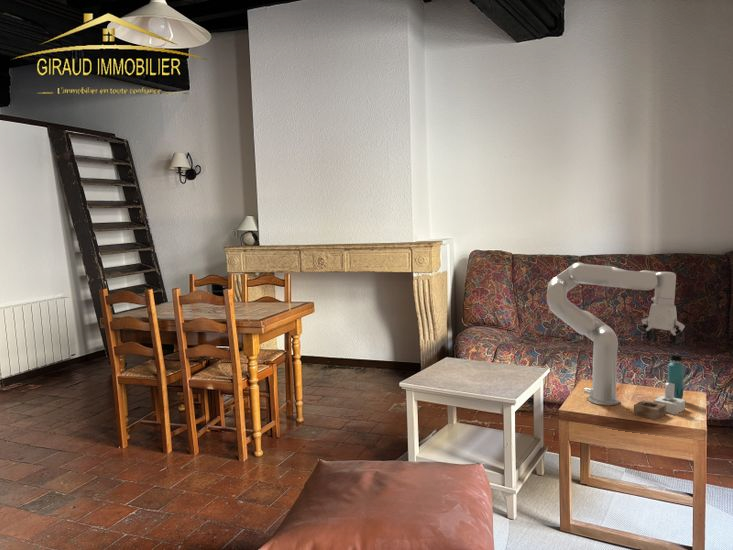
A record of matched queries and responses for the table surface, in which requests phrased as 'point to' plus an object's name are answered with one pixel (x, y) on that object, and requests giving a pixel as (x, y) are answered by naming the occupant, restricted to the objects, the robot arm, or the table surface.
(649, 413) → the socket block
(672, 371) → the beverage bottle
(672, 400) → the steel peg
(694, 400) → the table surface
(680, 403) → the block
